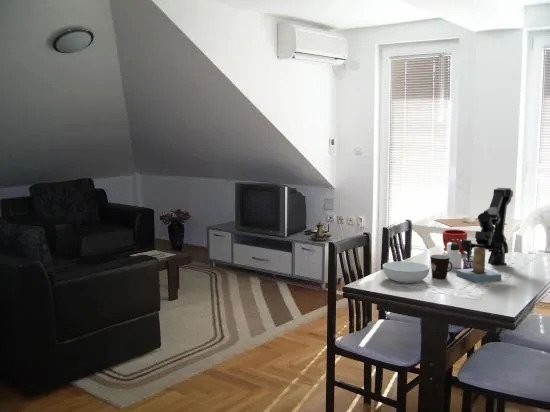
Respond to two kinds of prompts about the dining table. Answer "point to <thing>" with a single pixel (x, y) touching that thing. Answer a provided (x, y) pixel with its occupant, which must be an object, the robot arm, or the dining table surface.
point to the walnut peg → (479, 260)
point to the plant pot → (455, 235)
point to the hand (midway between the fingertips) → (478, 261)
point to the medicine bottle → (453, 255)
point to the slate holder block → (479, 275)
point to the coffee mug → (440, 266)
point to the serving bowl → (406, 271)
